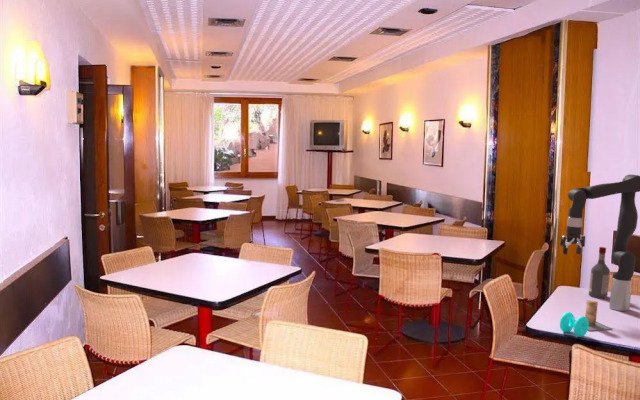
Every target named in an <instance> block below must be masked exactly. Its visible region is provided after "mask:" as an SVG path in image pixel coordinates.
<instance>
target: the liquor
mask: <svg viewBox="0 0 640 400" xmlns="http://www.w3.org/2000/svg"><path fill="white" fill-rule="evenodd" d="M598 248H599V250H598V252H599V253H598V258H597V259H598V260H597V263H596V264H594V265H593V266H592V267H591V269H590V277H589V286H588V296H590V297H591V298H595V299H596V298H597V299H605V298H607V297H608V292H609V285H610V275H611V270H610V268H609V267H608V266H607V265H606V261H605V260H606V252H607V248H606V247H604V246H599V247H598Z"/></svg>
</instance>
